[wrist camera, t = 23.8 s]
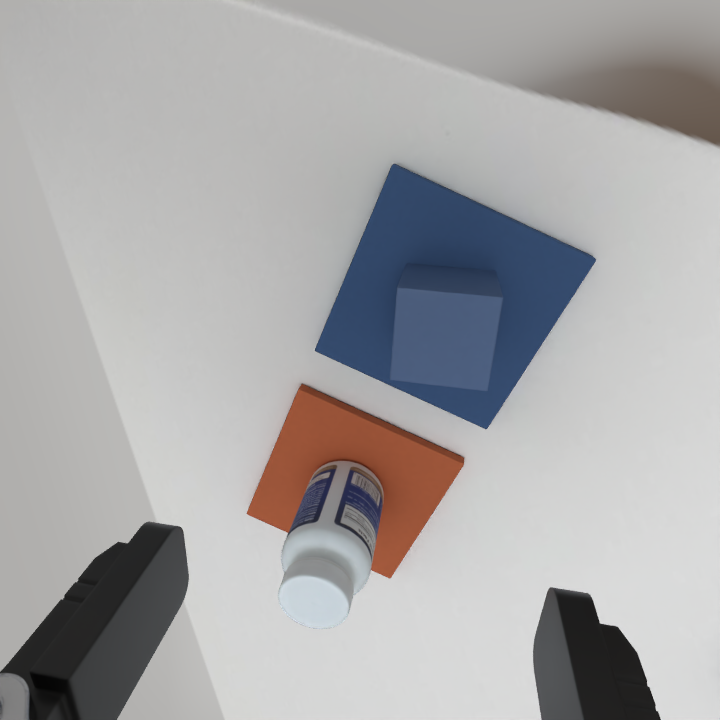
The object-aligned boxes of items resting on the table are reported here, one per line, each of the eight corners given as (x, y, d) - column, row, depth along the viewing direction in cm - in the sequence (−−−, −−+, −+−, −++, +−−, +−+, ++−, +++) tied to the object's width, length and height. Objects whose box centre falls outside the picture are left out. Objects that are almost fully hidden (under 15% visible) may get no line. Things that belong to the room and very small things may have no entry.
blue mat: (317, 346, 33) (314, 351, 32) (393, 163, 28) (392, 164, 27) (485, 423, 33) (486, 430, 33) (593, 256, 28) (597, 259, 27)
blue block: (399, 344, 31) (389, 380, 27) (406, 262, 29) (396, 287, 25) (482, 353, 31) (487, 391, 26) (495, 270, 29) (503, 297, 24)
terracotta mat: (250, 507, 40) (246, 514, 39) (301, 383, 35) (298, 388, 34) (391, 570, 40) (390, 578, 39) (464, 457, 35) (464, 464, 34)
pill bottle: (313, 516, 38) (271, 633, 29) (307, 455, 36) (259, 561, 27) (386, 522, 37) (364, 644, 28) (384, 460, 35) (360, 571, 26)
